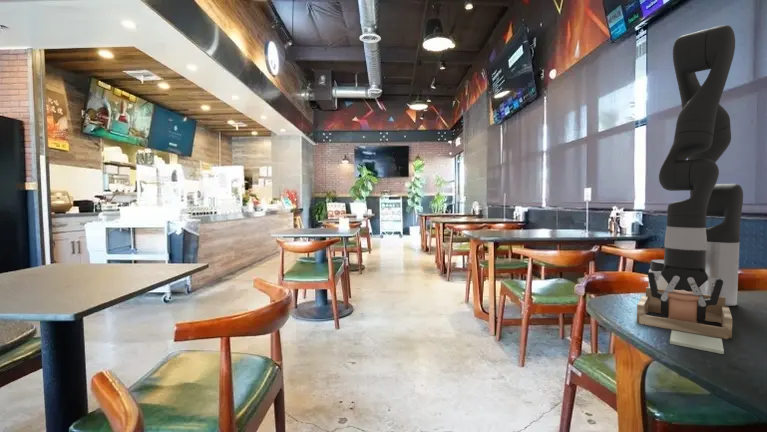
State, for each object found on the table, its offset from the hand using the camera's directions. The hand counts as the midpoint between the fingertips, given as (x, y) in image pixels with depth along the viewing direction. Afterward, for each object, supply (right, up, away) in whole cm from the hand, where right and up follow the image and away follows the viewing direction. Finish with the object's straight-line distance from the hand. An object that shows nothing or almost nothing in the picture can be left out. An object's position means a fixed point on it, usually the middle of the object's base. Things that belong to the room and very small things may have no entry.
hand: (682, 318), depth 88 cm
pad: (-7, -1, -12) cm, 14 cm away
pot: (0, -1, 0) cm, 1 cm away
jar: (+8, -1, +15) cm, 16 cm away
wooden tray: (0, -1, 0) cm, 1 cm away
